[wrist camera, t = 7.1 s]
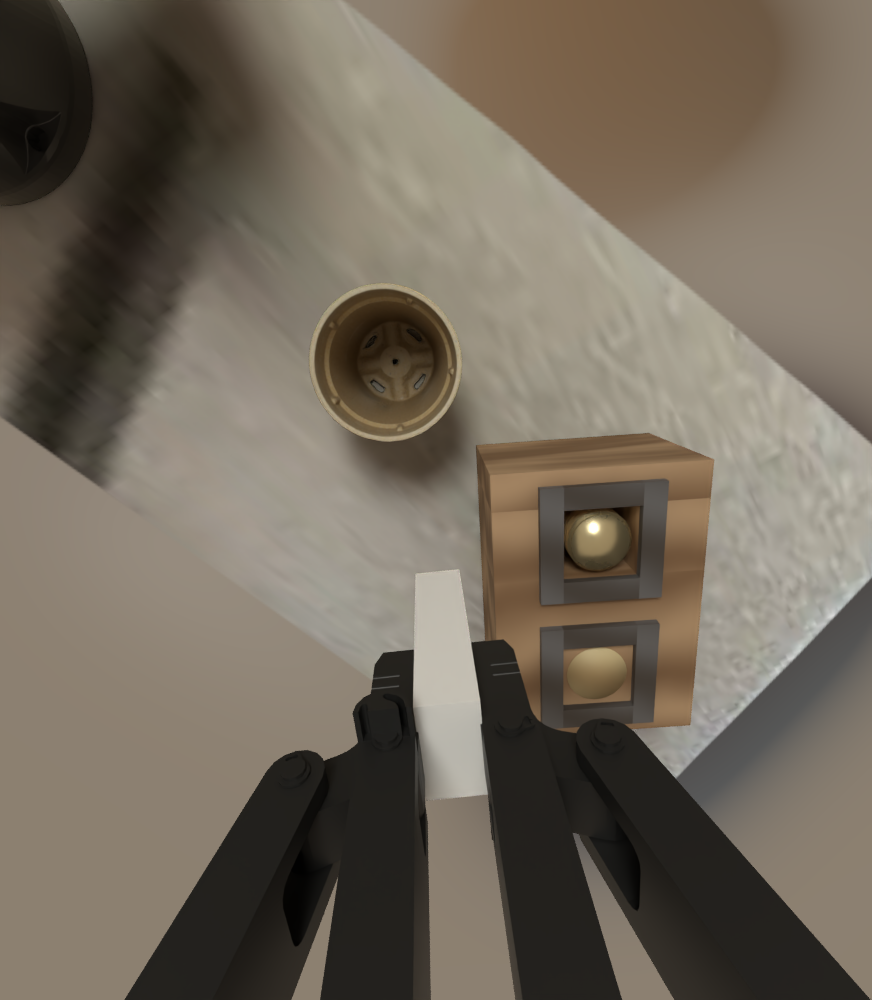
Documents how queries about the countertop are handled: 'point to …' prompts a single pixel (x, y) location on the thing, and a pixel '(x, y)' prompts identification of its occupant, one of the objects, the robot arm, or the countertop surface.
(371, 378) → the flower pot
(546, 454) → the socket block
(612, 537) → the peg
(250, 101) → the countertop surface
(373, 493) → the countertop surface
